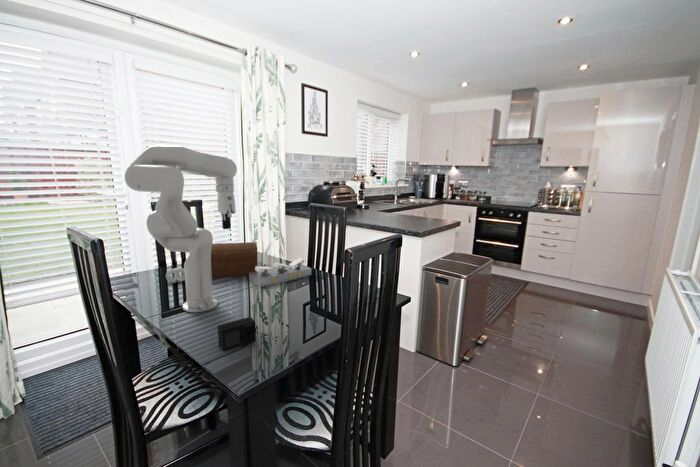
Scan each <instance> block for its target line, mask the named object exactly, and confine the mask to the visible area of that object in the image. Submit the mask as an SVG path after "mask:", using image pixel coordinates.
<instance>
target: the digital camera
mask: <svg viewBox="0 0 700 467" xmlns="http://www.w3.org/2000/svg"><path fill="white" fill-rule="evenodd" d="M256 333H257V327H256V321H255V320H254V319H253V318H252V317H251V316H249V317H244V318H240V319H237V320H233V321H230V322H226V323H222V324H219V325H217V335H218V338H217V339H218V347H219V348H220V349H221V351H222V352H226V351H229V350H233V349H237V348H239V347H242V346H243V347H244V346H246V345H249V344H251V343H255V342H256V341H257V336H256Z"/></svg>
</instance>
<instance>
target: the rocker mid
mask: <svg viewBox="0 0 700 467" xmlns="http://www.w3.org/2000/svg"><path fill="white" fill-rule="evenodd" d="M288 265H289V264H288ZM288 265H287V264H285V263H281V262H273V263H272V266H273V268H280V269H287V270H289V267H290V266H288Z"/></svg>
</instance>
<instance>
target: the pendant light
mask: <svg viewBox="0 0 700 467" xmlns="http://www.w3.org/2000/svg"><path fill="white" fill-rule="evenodd" d="M174 256H175V258H174V259H175V261H176V255H174ZM165 279H166V280H167V281H168V282H169V283H173V284H174V283H175V284H177V283H181V282H183V281H184V282H185V271H184V267H175V268H171V269H168V271H167V272H166V273H165Z"/></svg>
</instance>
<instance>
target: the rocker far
mask: <svg viewBox="0 0 700 467" xmlns="http://www.w3.org/2000/svg"><path fill="white" fill-rule="evenodd" d="M304 263H306V261H305V259H304V258H301V257H297V258H296V259H295V260H293V261H292V262H290V263H288V265H289V266H290V267H291V268H293V269H295V268H297V267H298V266H301V264H302V265H304Z"/></svg>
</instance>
